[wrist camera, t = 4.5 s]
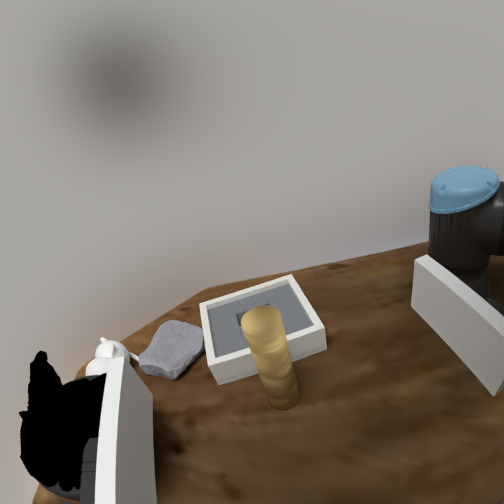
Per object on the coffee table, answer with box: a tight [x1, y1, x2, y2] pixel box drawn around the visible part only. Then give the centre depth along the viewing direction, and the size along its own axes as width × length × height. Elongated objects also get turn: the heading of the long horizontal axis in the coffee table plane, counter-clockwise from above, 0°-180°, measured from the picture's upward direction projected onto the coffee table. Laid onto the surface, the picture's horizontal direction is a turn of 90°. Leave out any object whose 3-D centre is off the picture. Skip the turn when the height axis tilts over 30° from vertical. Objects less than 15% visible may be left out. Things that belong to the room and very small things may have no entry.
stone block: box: [139, 320, 205, 380], centre depth 53 cm, size 12×5×10 cm
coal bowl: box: [19, 351, 107, 501], centre depth 30 cm, size 20×20×19 cm
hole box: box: [200, 274, 327, 385], centre depth 52 cm, size 18×16×5 cm
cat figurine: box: [86, 338, 139, 376], centre depth 48 cm, size 9×11×12 cm
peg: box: [241, 305, 300, 410], centre depth 37 cm, size 4×4×16 cm
